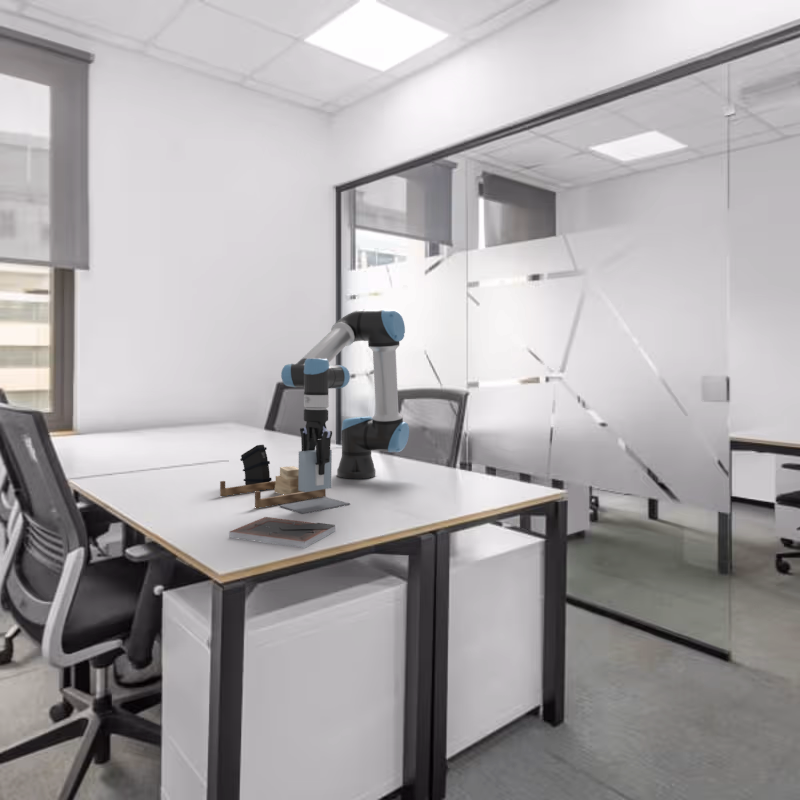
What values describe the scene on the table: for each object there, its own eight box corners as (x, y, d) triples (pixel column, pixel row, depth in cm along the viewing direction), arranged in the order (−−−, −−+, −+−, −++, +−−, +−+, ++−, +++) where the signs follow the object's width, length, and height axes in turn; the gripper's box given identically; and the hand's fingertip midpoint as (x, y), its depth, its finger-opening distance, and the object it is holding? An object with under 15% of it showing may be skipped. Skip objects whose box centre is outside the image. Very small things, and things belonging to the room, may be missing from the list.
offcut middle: (290, 482, 214) (290, 474, 214) (305, 487, 207) (305, 478, 207) (275, 484, 210) (275, 476, 210) (289, 489, 203) (289, 480, 203)
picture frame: (335, 533, 164) (265, 524, 172) (335, 524, 164) (265, 516, 171) (304, 551, 149) (229, 540, 156) (304, 540, 148) (229, 530, 156)
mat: (326, 498, 203) (326, 497, 203) (349, 504, 194) (349, 503, 194) (279, 506, 190) (279, 505, 190) (303, 513, 181) (303, 512, 181)
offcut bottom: (289, 491, 214) (289, 482, 214) (306, 496, 207) (306, 487, 207) (274, 493, 210) (274, 484, 210) (290, 498, 203) (290, 489, 203)
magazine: (268, 486, 212) (256, 445, 215) (247, 497, 220) (236, 457, 223) (277, 484, 215) (265, 444, 218) (256, 495, 223) (245, 456, 226)
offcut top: (293, 474, 213) (293, 466, 212) (301, 478, 207) (301, 469, 206) (279, 476, 210) (279, 467, 210) (287, 479, 204) (287, 470, 204)
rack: (286, 486, 221) (287, 466, 221) (325, 496, 205) (325, 475, 205) (220, 496, 203) (220, 475, 202) (257, 508, 187) (257, 485, 186)
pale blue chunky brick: (324, 486, 196) (324, 448, 196) (331, 487, 194) (331, 449, 193) (298, 490, 189) (298, 451, 188) (305, 492, 187) (305, 452, 186)
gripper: (290, 407, 193) (289, 481, 195) (323, 410, 182) (322, 489, 183) (309, 406, 199) (308, 478, 200) (342, 409, 187) (341, 486, 188)
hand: (315, 483), depth 191 cm, fingers closed on pale blue chunky brick, 3 cm apart
